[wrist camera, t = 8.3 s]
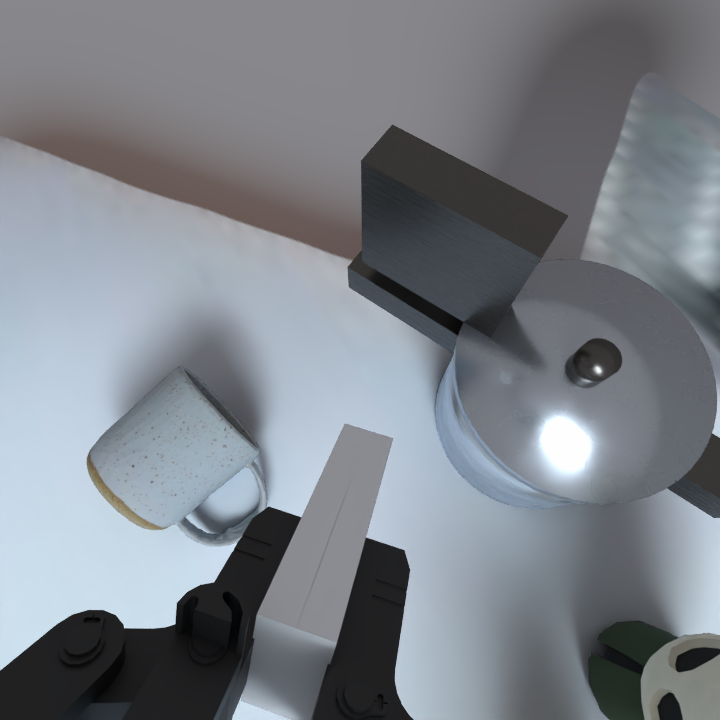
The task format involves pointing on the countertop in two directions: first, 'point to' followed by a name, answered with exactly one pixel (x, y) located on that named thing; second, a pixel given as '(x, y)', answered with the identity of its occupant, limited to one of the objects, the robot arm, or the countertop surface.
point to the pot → (698, 486)
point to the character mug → (656, 674)
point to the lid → (540, 331)
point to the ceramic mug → (174, 458)
